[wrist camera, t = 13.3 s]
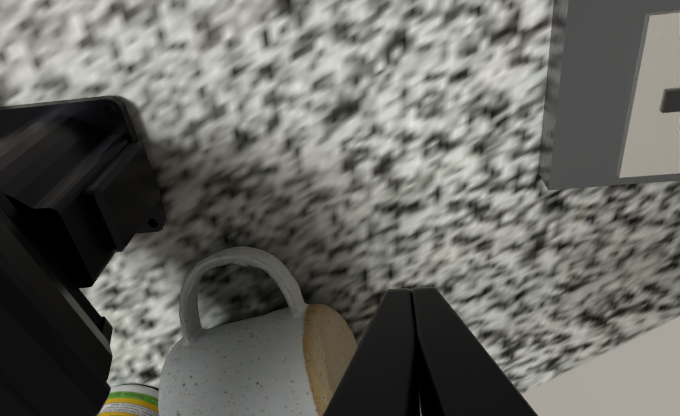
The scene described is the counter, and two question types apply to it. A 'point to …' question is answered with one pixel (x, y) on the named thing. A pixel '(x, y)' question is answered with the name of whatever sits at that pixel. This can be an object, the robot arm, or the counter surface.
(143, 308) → the counter surface
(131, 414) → the supplement bottle
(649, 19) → the panel
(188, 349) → the ceramic mug
